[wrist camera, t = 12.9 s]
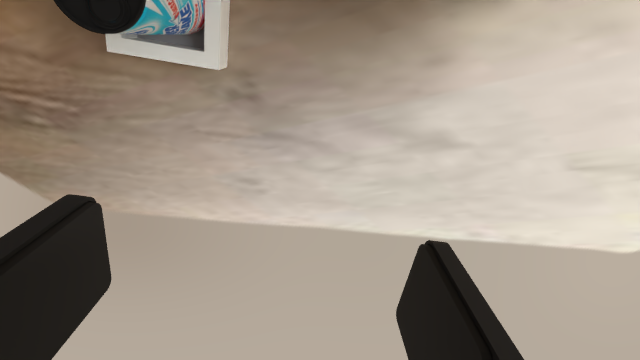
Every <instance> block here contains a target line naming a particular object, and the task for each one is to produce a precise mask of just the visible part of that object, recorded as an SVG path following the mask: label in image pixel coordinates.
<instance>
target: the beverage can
mask: <svg viewBox="0 0 640 360" xmlns="http://www.w3.org/2000/svg"><path fill="white" fill-rule="evenodd" d="M54 2H55V3H56V4H57V6H58V7H59V8H60V9H61V11H62V12H63V13H64V14H65V15H66V16H67V17H68V18H70V19H71V20H72V21H73V22H75V23H76V24H78V25H79V26H81V27H83V28H85V29H87V30H89V31H92V32H96V33H101V34H140V35H178V34H185V35H188V34H194V33H197V32H199V31H200V30H202V29H203V28H204V27H205V0H54Z"/></svg>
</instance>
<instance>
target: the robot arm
mask: <svg viewBox="0 0 640 360" xmlns="http://www.w3.org/2000/svg"><path fill="white" fill-rule="evenodd" d="M110 283H111V271H110V264H109V257H108V250H107V243H106V235H105V228H104V221H103V214H102V208H101V205H100V204H99V203H96V201H95V199H94V198H92V197H87V196H79V195H66V196H64V197H62V198H61V199H59V200H58V201H56V202H55V203H53V204H52V205H50V206H49V207H47V208H45V209H44V210H42V211H41V212H39V213H38V214H36V215H35V216H33V217H31V218H30V219H28V220H27V221H26V222H24V223H22V224H21V225H19V226H18V227H16V228H15V229H13V230H11V231H10V232H8V233H7V234H5V235H4V236H2V237H1V238H0V360H51V359H52V358H53V357H54V356H55V354H56V353H57V352H58V351H59V349H60V348H61V347H62V345H63V344H64V343H65V342H66V341H67V339H68V338H69V337H70V336H71V334H72V333H73V332H74V331H75V329H76V328H77V327H78V326H79V325H80V323H81V322H82V321H83V319H84V318H85V317H86V316H87V315H88V313H89V312H90V311H91V310H92V308H93V307H94V306H95V304H96V303H97V302H98V301H99V300H100V298H101V297H102V296H103V295H104V293H105V292H106V291H107V289H108V288H109V286H110ZM396 317H397V322H398V326H399V329H400V333H401V336H402V339H403V342H404V346H405V349H406V353H407V356H408V360H524V359H523V357H522V356H521V354H520V353H519V351H518V350H517V348H516V346H515V345H514V343H513V342H512V340H511V339H510V337H509V336H508V334H507V333H506V331H505V330H504V328H503V327H502V325H501V323H500V322H499V321H498V319H497V317H496V316H495V314H494V313H493V311H492V310H491V308H490V307H489V305H488V304H487V302H486V300H485V299H484V297H483V296H482V294H481V293H480V292H479V290H478V288H477V287H476V285H475V284H474V282H473V281H472V279H471V278H470V276H469V274H468V273H467V271H466V270H465V268H464V267H463V265H462V264H461V262H460V261H459V259H458V258H457V256H456V255H455V253H454V251H453V250H452V248H451V247H450V245H449V244H448V243H446V242H438V241H430V240H428V241H427V242H426V243H425V244H421V245H420V246H419V248H418V251H417V254H416V256H415V259H414V262H413V265H412V268H411V270H410V273H409V276H408V279H407V281H406V284H405V287H404V290H403V293H402V296H401V299H400V301H399V304H398V307H397V311H396Z"/></svg>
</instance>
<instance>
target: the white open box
mask: <svg viewBox="0 0 640 360" xmlns="http://www.w3.org/2000/svg"><path fill="white" fill-rule="evenodd" d="M229 12H230V0H205V27H204V28H203V29H202V30H200V31H199V32H197V33H194V34H188V35H185V34H178V35H140V34H105V36H106V45H107V52H113V53H119V54H125V55H131V56H137V57H143V58H149V59H155V60H161V61H167V62H173V63H179V64H185V65H191V66H197V67H203V68H209V69H215V70H221V69H223V68H226V67H227V61H228V36H229Z"/></svg>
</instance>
